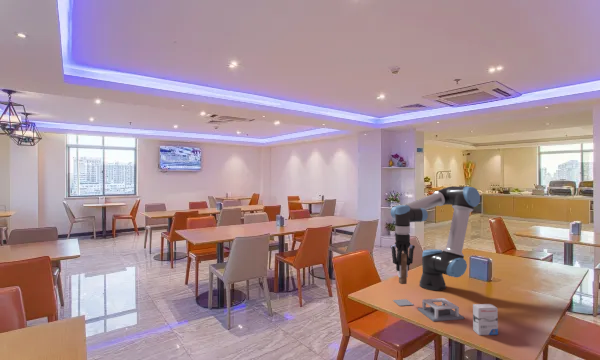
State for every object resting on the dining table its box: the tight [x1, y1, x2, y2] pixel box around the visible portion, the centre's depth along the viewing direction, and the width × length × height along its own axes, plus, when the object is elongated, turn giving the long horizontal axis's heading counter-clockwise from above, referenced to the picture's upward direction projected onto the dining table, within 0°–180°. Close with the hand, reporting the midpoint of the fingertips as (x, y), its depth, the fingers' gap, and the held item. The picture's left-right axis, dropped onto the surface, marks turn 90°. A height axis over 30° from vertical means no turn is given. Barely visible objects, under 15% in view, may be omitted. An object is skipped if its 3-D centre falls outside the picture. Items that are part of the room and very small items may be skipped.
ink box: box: [472, 303, 499, 336], centre depth 140 cm, size 8×5×12 cm, turn 92°
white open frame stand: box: [417, 297, 465, 322], centre depth 160 cm, size 16×14×6 cm
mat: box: [392, 298, 414, 307], centre depth 175 cm, size 8×8×1 cm
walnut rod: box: [398, 252, 408, 285], centre depth 174 cm, size 3×3×16 cm
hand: (402, 276), depth 175 cm, fingers closed on walnut rod, 3 cm apart
